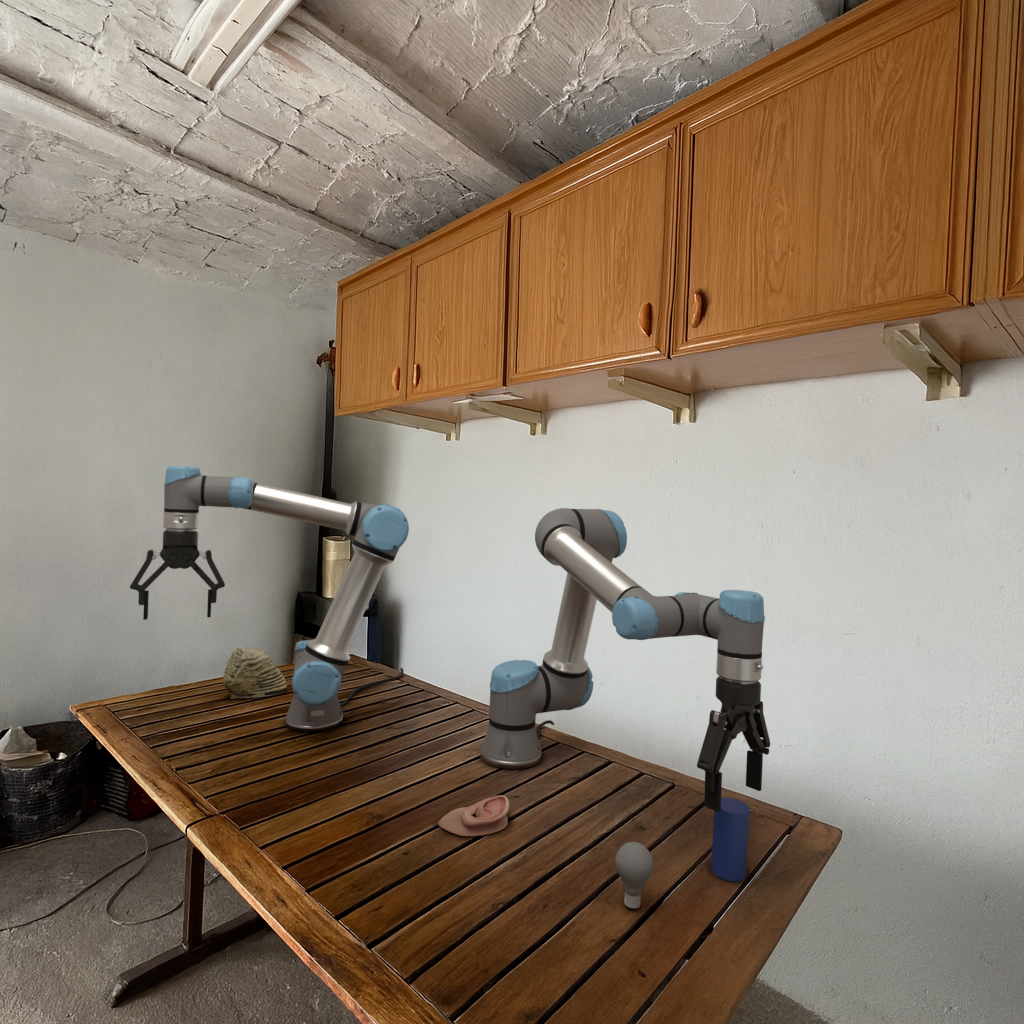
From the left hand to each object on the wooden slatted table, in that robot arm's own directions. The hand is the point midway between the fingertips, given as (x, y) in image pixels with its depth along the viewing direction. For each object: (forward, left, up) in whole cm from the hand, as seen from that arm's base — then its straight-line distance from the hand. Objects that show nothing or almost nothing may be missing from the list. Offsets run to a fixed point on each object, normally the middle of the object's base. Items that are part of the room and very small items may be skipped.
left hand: (177, 617), depth 154 cm
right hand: (-43, +121, -19) cm, 130 cm away
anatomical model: (-25, +76, -32) cm, 87 cm away
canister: (-43, +120, -32) cm, 132 cm away
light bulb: (-23, +112, -32) cm, 119 cm away
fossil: (-36, -26, -32) cm, 55 cm away
